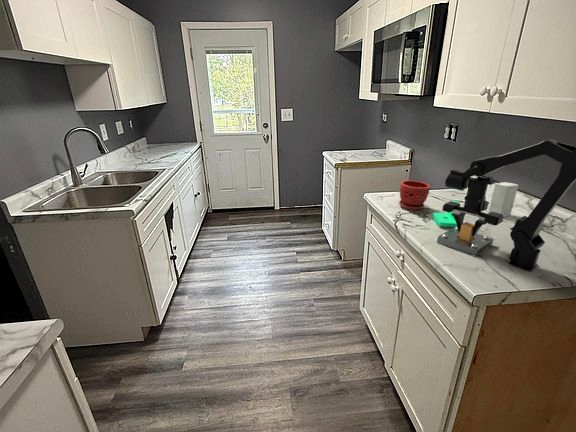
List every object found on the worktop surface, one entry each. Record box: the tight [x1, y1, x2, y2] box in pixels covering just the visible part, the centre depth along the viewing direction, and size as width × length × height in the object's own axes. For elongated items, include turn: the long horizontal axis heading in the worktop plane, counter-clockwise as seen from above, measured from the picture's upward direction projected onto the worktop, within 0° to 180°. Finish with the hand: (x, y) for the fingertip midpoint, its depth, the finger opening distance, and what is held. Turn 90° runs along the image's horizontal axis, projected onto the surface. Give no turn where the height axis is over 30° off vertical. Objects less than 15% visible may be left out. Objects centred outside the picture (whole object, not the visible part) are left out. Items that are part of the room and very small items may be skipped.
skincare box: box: [487, 181, 519, 217], centre depth 142 cm, size 8×6×15 cm
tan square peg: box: [459, 221, 475, 242], centre depth 116 cm, size 4×4×8 cm
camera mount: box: [432, 200, 460, 228], centre depth 134 cm, size 12×8×10 cm, turn 171°
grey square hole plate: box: [436, 227, 494, 257], centre depth 117 cm, size 14×14×3 cm
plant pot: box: [398, 180, 431, 211], centre depth 152 cm, size 13×13×12 cm
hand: (466, 234), depth 116 cm, fingers open, 4 cm apart
